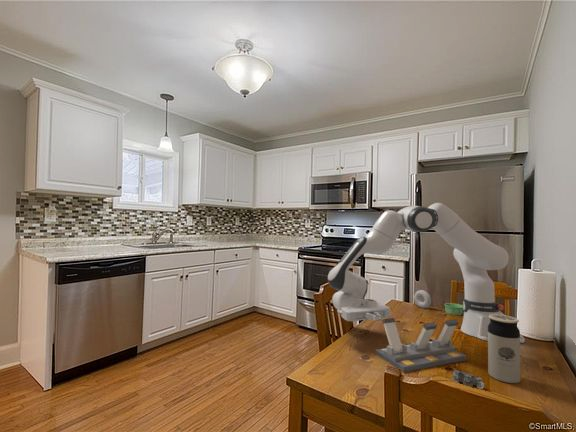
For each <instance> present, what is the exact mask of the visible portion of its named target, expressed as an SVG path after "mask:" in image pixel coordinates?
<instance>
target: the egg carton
mask: <svg viewBox="0 0 576 432" xmlns="http://www.w3.org/2000/svg"><path fill="white" fill-rule="evenodd" d="M452 380H453V381H455V382H458V383H459V384H460V383H462V386H463V385H466V386H470V387H474V386H476V389H477V388H478V389H481V390H483V391H484V388H485V383H484V382H483V380H482V378H481V376H478V377H476V376H475V374H470V373H468V372H464V371H460V370H457V368H454V369H453V374H452V378H451V381H452Z"/></svg>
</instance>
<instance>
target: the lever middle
mask: <svg viewBox="0 0 576 432" xmlns="http://www.w3.org/2000/svg"><path fill="white" fill-rule="evenodd" d="M437 328H438V324H437V323H436V322H433V321H431V322H426V323H423V326H422V329H421V331H420V332H419V336H418V337H417V340H416V341H415V342H414V343H415V344H417V349H419V348H425V347H426V345H427V343H428V342H430V341H431V340H430V339H431V337H432V336H433V333H434V331H435V330H436V329H437Z"/></svg>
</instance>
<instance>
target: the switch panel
mask: <svg viewBox="0 0 576 432" xmlns="http://www.w3.org/2000/svg"><path fill="white" fill-rule="evenodd" d="M415 343H416V342H413V341H410V344H404V343H401V344H402V348H403V351H400V352H394V348H392V347H390V345H386V347H385V348H384V347H383V348H378V349H375V355H377V356H378V357H379V358H380V359H382V360H384V361H386V362H387V363H389V364H390V365H391V366H393V367H395V368H396V367H397V368H396V369H398V368H399V369H401V370H402V371H401V370H400V371H401V372H402V373H406V372H411V371H417V370H423V369H425V368H426V369H427V368H433V367H438V366H442V365H443V366H444V365H447V364H448V365H449V364H453V363H458V362H464V361H467V360H468V358H467V357H468V355H466V354H464V353H462V352H460V351H457V347H456V346H453V345H452V339H451V338H450V339H449V341H448V343H447V344H444V345H440V341H438V339H435V338H432V341H431V340H429V341H428V343H427V345H426V347H425V348H419V349H417V344H415ZM399 369H398V370H399Z"/></svg>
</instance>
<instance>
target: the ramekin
mask: <svg viewBox="0 0 576 432" xmlns="http://www.w3.org/2000/svg"><path fill="white" fill-rule="evenodd" d="M444 309H445V310H444V311H446V312H445V313H446V314H448V313H449V314H448V315H451V314H452V316H463V315H464V310H463V304H460V303H454V302H446V303H444Z"/></svg>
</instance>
